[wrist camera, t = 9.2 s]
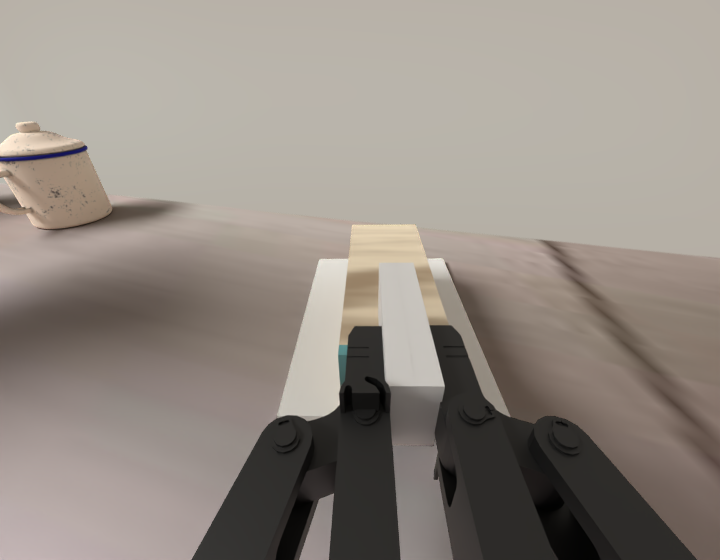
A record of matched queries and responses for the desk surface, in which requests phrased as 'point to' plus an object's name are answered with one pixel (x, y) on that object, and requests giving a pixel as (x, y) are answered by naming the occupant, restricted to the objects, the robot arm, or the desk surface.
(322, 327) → the mat
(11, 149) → the teacup with lid
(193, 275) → the desk surface
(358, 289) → the block
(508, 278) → the desk surface
